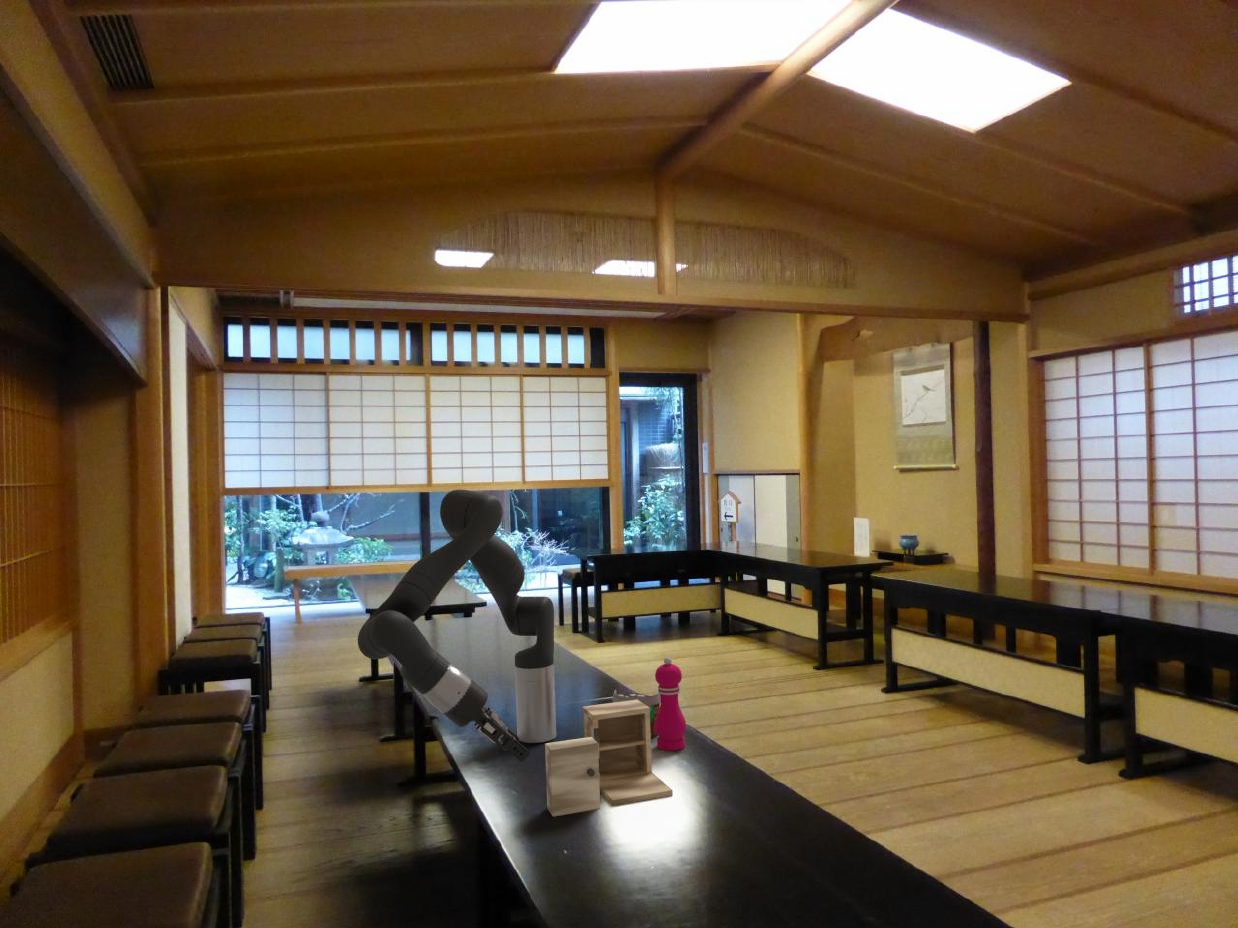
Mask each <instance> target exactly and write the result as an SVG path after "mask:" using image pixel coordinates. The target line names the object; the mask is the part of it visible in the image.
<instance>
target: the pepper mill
mask: <svg viewBox="0 0 1238 928" xmlns="http://www.w3.org/2000/svg"><path fill="white" fill-rule="evenodd" d="M663 663H664V664H663ZM663 663H662V664H661V665H659V666H658V667H657V668H656V670H655V673H654V675H655V676H654V678H655V681H656V682H657V684H658V686H657V689H658V691H657V692H658V693H660V698H661V703H660V709H659V712H658V714H657V717H656V720H655V726H654V729H655V732H656V733H657V734H658V735H657V736H658V737H657V739H656V745H657V746H656V747H657V748H658V749H659V750H662V751H665V752H667V751H668V752H669V751H670V752H672V751H673V752H674V751H680V750H682V749H684V748H685V747H686V739H685V738H686V737H684V734H685V733H686V731H687V722H686V721H687V720H686V719H685V715H684V714H683V712H682V710H681V707H680V704H679V703H680V702H679V694H680V693H681V689H680V688H681V685H680V682H681V681H682V678H683V674H682V671H681V669H680V667H679V666H678V665H676V664H673V660H672V658H671V657H670V656H667V657H665V658H664V659H663ZM658 693H657V694H658Z"/></svg>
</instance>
